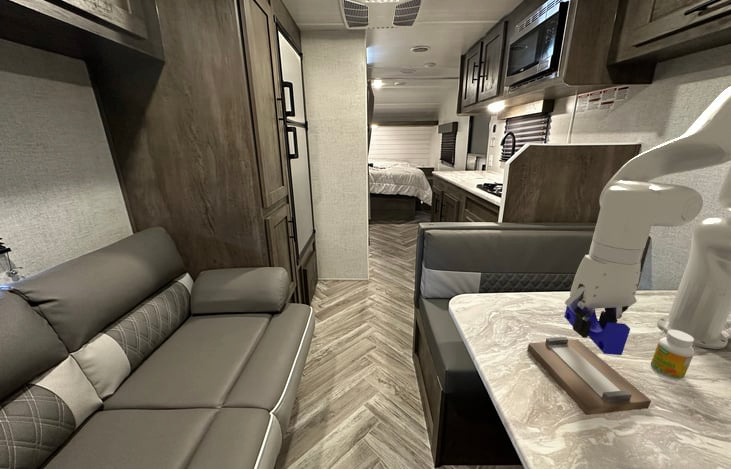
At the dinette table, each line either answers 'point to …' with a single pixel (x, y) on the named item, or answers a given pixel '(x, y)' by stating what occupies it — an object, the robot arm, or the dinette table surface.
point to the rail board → (587, 377)
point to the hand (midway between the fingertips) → (592, 331)
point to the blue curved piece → (604, 333)
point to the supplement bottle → (673, 355)
